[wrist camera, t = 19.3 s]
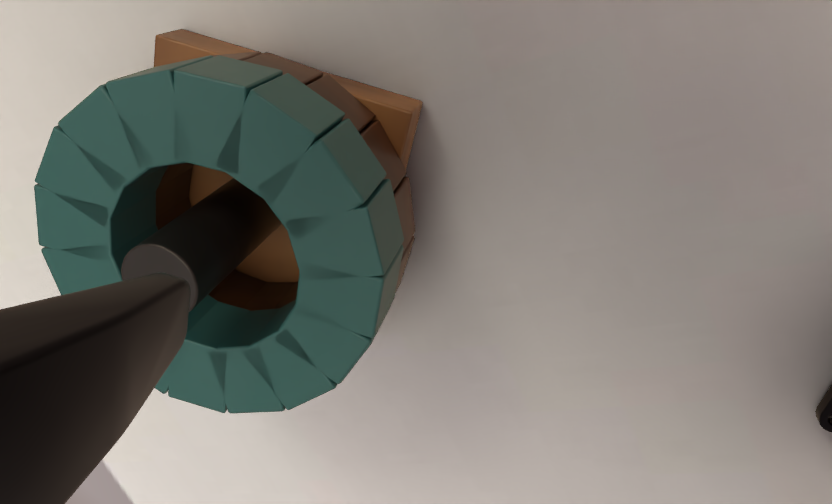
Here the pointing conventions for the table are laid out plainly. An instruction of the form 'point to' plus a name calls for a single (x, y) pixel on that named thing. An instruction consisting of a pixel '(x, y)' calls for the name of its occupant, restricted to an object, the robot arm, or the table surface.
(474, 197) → the table surface
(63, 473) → the robot arm
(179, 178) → the walnut ring
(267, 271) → the peg stand
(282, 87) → the teal ring
